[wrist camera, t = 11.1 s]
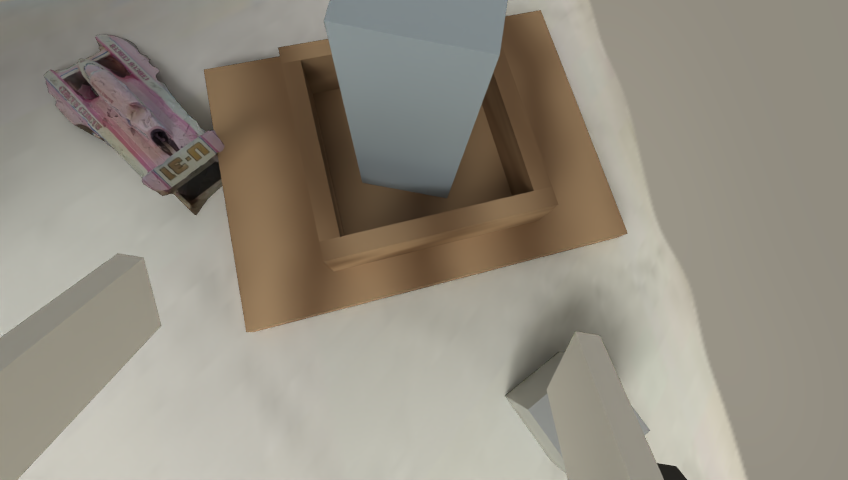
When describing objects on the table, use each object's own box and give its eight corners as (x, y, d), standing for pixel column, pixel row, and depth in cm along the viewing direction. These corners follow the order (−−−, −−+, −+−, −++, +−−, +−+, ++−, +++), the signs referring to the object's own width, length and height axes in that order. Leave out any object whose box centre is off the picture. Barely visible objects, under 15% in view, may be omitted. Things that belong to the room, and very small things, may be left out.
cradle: (253, 332, 21) (220, 331, 17) (211, 80, 24) (176, 32, 21) (618, 237, 24) (661, 218, 20) (535, 21, 27) (558, -30, 23)
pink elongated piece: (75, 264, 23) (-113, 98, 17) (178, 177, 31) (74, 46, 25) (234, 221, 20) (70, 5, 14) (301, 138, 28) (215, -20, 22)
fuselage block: (447, 198, 23) (499, 54, 11) (362, 182, 22) (323, 21, 11) (459, 122, 24) (519, -80, 12) (379, 107, 24) (361, -112, 12)
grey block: (550, 460, 21) (585, 489, 17) (504, 395, 21) (528, 409, 17) (604, 412, 21) (650, 430, 18) (558, 351, 22) (593, 355, 18)
